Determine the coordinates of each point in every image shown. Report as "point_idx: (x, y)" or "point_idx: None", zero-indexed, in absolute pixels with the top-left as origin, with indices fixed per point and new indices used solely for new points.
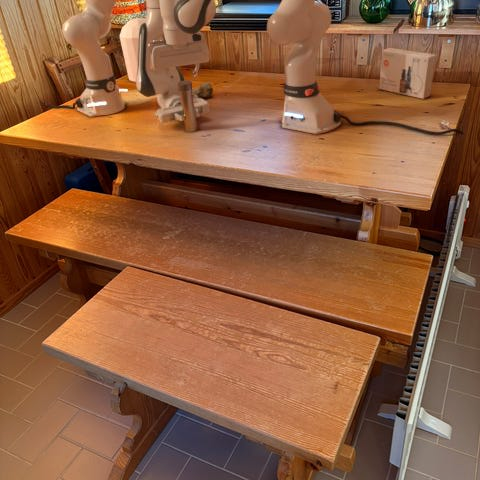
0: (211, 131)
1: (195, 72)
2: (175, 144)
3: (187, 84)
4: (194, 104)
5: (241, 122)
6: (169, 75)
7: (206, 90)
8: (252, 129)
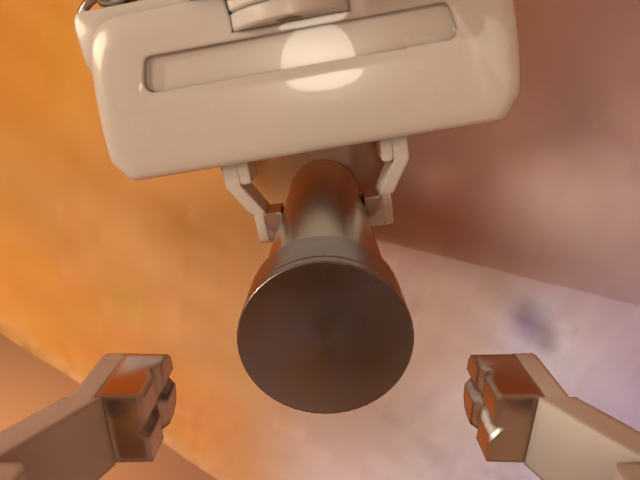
0: (413, 271)
1: (518, 453)
2: (213, 337)
3: (342, 408)
4: (405, 82)
5: (603, 229)
6: (90, 471)
7: None
8: (596, 341)
